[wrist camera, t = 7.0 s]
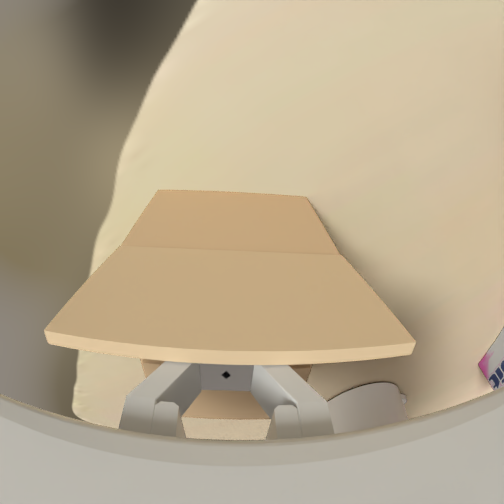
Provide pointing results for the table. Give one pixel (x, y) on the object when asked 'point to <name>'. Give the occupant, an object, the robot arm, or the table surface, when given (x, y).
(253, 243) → the kraft carton
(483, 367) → the gum box
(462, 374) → the table surface
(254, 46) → the table surface
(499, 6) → the table surface
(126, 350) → the carton flap
